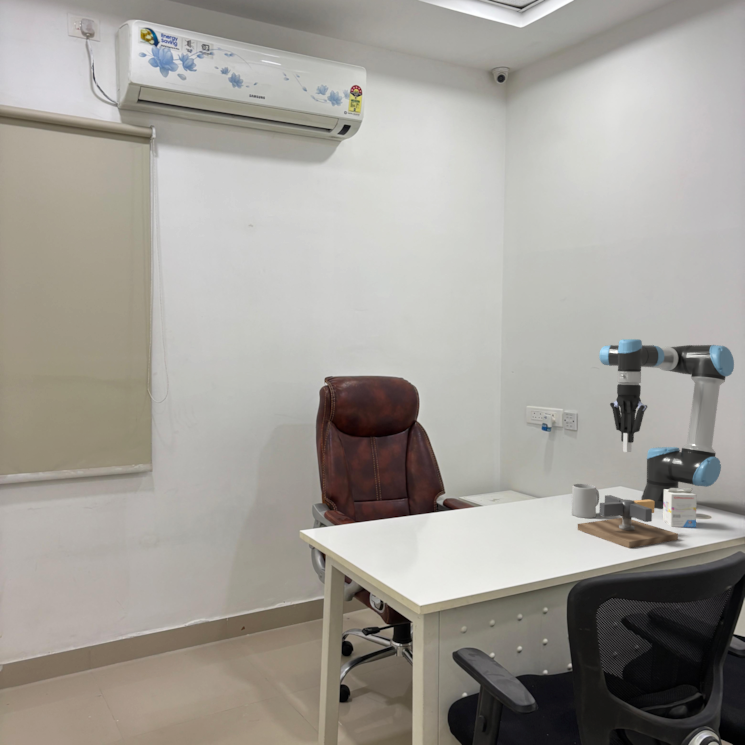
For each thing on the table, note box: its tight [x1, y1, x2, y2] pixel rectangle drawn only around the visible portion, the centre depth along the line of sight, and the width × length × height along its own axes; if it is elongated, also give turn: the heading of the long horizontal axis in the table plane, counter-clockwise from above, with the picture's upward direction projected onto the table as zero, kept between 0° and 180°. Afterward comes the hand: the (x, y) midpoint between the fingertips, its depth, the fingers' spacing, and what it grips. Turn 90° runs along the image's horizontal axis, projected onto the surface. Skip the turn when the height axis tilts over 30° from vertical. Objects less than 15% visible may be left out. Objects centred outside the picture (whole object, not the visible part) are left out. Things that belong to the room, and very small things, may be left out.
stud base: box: [577, 516, 679, 549], centre depth 212 cm, size 22×22×6 cm
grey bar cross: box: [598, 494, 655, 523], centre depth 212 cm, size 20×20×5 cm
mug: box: [571, 483, 600, 519], centre depth 237 cm, size 12×8×11 cm
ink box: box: [662, 487, 698, 528], centre depth 226 cm, size 9×8×13 cm
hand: (627, 451), depth 221 cm, fingers closed
